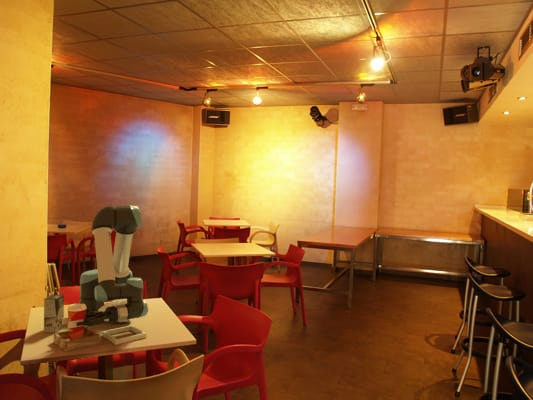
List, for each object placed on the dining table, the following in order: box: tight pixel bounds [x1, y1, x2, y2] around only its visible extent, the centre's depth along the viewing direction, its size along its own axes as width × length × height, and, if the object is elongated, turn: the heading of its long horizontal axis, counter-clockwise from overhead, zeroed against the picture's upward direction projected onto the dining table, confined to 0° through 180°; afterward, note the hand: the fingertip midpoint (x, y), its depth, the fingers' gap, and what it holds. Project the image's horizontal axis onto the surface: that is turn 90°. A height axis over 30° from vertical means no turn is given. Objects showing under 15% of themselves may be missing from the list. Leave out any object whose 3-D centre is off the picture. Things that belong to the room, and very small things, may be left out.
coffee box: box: [43, 294, 65, 333], centre depth 220 cm, size 9×6×16 cm
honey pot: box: [98, 299, 133, 324], centre depth 234 cm, size 13×13×18 cm
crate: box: [53, 326, 101, 353], centre depth 203 cm, size 15×15×4 cm
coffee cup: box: [66, 303, 87, 340], centre depth 203 cm, size 8×8×15 cm
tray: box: [101, 324, 147, 346], centre depth 213 cm, size 15×15×2 cm
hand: (65, 323), depth 199 cm, fingers closed on coffee cup, 7 cm apart
